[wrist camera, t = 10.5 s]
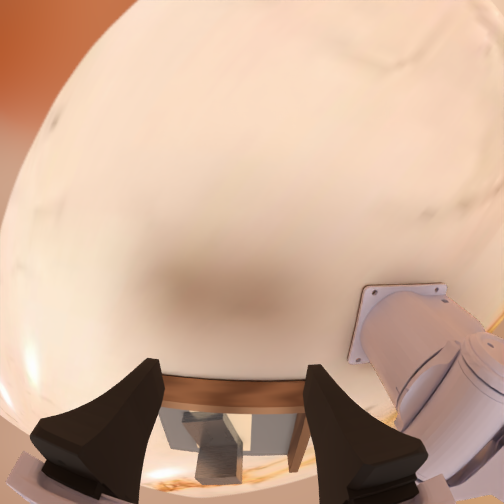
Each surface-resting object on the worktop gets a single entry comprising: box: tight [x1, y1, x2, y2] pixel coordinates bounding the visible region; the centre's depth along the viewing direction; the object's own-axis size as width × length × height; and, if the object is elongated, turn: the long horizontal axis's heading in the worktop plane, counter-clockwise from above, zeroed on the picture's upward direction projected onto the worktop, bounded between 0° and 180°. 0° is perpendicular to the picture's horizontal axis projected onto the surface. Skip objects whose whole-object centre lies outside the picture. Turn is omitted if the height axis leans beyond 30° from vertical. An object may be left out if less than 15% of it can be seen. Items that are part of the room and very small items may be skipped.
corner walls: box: [161, 375, 311, 473], centre depth 24 cm, size 16×14×3 cm
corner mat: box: [158, 379, 303, 456], centre depth 25 cm, size 16×14×1 cm
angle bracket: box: [181, 412, 243, 485], centre depth 22 cm, size 7×4×6 cm, turn 15°
